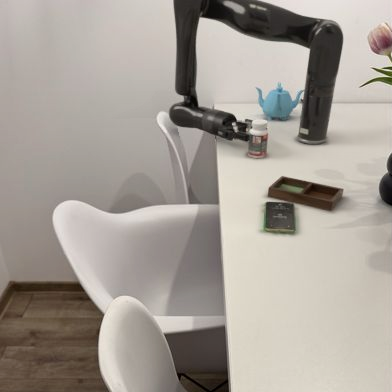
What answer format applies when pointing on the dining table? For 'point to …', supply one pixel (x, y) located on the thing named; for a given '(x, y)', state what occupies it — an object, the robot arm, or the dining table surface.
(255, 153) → the pill bottle
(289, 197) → the tray
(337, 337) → the dining table surface
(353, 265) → the dining table surface
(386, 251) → the dining table surface
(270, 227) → the smartphone
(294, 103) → the teapot
